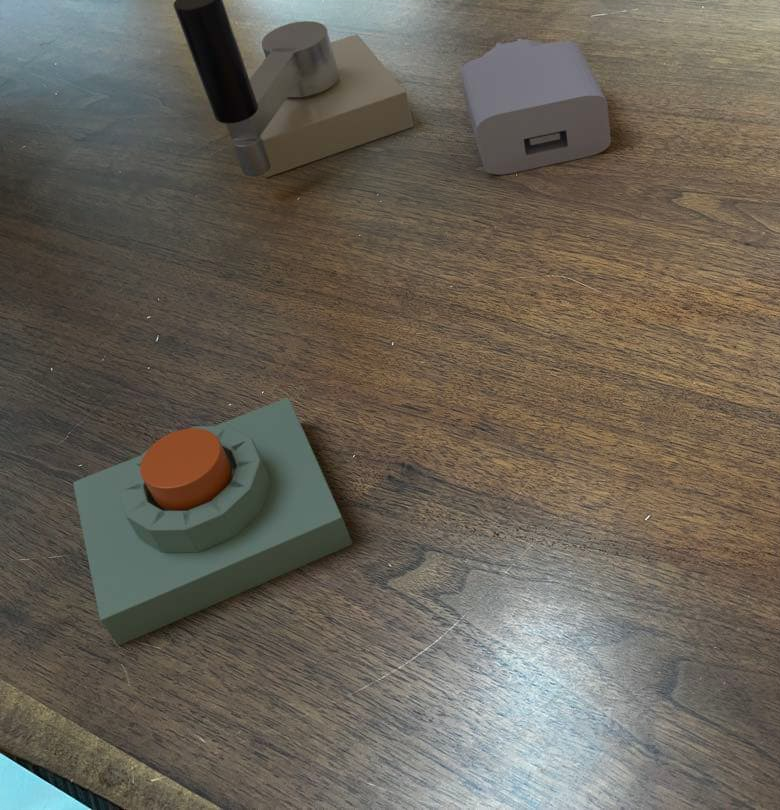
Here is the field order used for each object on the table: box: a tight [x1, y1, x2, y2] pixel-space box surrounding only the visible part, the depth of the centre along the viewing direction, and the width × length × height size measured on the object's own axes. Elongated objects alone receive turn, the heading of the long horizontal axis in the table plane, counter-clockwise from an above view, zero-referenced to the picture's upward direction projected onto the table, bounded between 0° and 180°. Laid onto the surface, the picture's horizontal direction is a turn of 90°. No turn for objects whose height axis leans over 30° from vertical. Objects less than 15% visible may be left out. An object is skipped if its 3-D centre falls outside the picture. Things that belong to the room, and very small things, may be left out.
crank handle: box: [173, 0, 339, 177], centre depth 77 cm, size 15×5×12 cm, turn 168°
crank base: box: [246, 33, 414, 179], centre depth 85 cm, size 12×12×3 cm
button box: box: [72, 396, 353, 647], centre depth 55 cm, size 12×10×4 cm
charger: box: [459, 37, 612, 176], centre depth 81 cm, size 5×9×15 cm
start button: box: [140, 427, 232, 511], centre depth 54 cm, size 4×4×2 cm
